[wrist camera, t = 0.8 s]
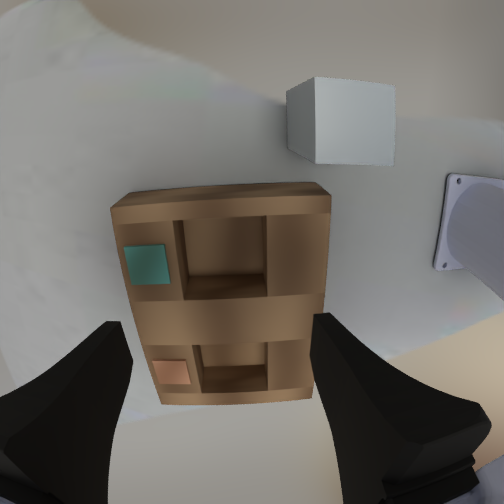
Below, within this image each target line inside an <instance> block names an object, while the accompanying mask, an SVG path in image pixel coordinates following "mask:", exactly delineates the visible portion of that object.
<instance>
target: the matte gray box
mask: <svg viewBox="0 0 504 504" xmlns="http://www.w3.org/2000/svg"><path fill="white" fill-rule="evenodd" d="M286 99H287V148H288V149H290V150H292V151H294V152H295V153H297V154H299V155H301V156H303V157H304V158H306V159H308V160H310V161H311V162H313V163H315V164H354V165H380V166H394V153H395V86H394V85H388V84H381V83H374V82H366V81H358V80H348V79H338V78H326V77H313V78H311V79H309V80H307V81H305V82H303V83H302V84H300V85H298V86H296V87H294V88H292V89H290V90H288V91H287V92H286Z"/></svg>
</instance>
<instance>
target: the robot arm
mask: <svg viewBox="0 0 504 504" xmlns="http://www.w3.org/2000/svg"><path fill="white" fill-rule="evenodd" d="M457 179H458V183H457ZM444 263H445V264H444ZM443 264H444V265H443ZM442 265H443V266H442ZM433 267H434V269H436V270H437V271H444V270H454V269H463V268H466V269H468V270H469V271H470V272H471V273H473V274H474V275H475V276H476V277H477V278H478V279H480V280H481V281H482V282H483V283H484V284H486V285H487V286H488V287H489V288H490V289H491V290H492V291H494V292H495V293H496V294H497V295H498V296H499V297H500V298H501V299H503V300H504V180H503V179H496V178H488V177H480V176H471V175H462V174H450V175H449V176H448V178H447V186H446V194H445V202H444V209H443V216H442V223H441V229H440V234H439V240H438V245H437V250H436V255H435V260H434V266H433ZM309 356H310V361H311V366H312V371H313V376H314V380H315V383H316V386H317V389H318V392H319V394H320V398H321V401H322V404H323V407H324V409H325V412H326V416H327V418H328V421H329V424H330V428H331V431H332V436H333V441H334V446H335V451H336V456H337V462H338V468H339V473H340V480H341V488H342V495H343V504H504V455H502V456H500V457H499V458H497V459H495V460H494V461H492V462H490V463H488V464H486V465H485V466H483V467H481V468H480V469H479V470H477V471H476V472H474V469H473V467H472V466H473V465H474V464H475V459H474V457H473V455H472V453H473V452H474V451H475V450H476V449H477V448H478V446H479V445H480V444H481V443H482V442H483V441H484V439H485V438H486V437H487V435H488V434H489V432H490V429H491V426H492V425H491V421H490V420H489V418H488V416H487V415H486V414H485V412H484V410H483V409H482V407H481V406H480V404H479V403H477V402H473V401H469V400H465V399H462V398H459V397H455V396H452V395H449V394H447V393H444V392H442V391H439V390H437V389H434V388H432V387H430V386H428V385H425V384H423V383H421V382H419V381H417V380H416V379H414V378H412V377H410V376H408V375H406V374H405V373H403V372H401V371H400V370H398V369H396V368H395V367H393V366H392V365H390V364H389V363H387V362H386V361H385V360H383V359H382V358H380V357H379V356H378V355H377V354H375V353H374V352H373V351H371V350H370V349H369V348H368V347H366V346H365V345H364V344H363V343H362V342H361V341H359V340H358V339H357V338H356V337H355V336H354V335H353V334H352V333H351V332H350V331H348V330H347V329H346V328H345V327H344V326H343V325H342V324H341V323H340V322H339V321H338V320H337V319H336V318H335V317H334V316H333V315H332V314H331V313H319V314H313V325H312V335H311V345H310V355H309ZM132 366H133V359H132V356H131V353H130V350H129V347H128V344H127V341H126V338H125V335H124V332H123V328H122V325H121V322H120V321H106V322H105V323H103V324H102V325H101V326H100V327H98V328H97V329H96V330H95V331H94V332H93V333H91V334H90V335H89V336H88V337H87V338H86V339H85V340H84V341H82V342H81V343H80V344H79V345H78V346H77V347H76V348H74V349H73V350H72V351H71V352H70V353H68V354H67V355H66V356H65V357H64V358H62V359H61V360H60V361H59V362H57V363H56V364H55V365H54V366H52V367H51V368H50V369H48V370H47V371H46V372H44V373H43V374H41V375H40V376H38V377H37V378H35V379H34V380H32V381H30V382H28V383H27V384H25V385H23V386H21V387H20V388H18V389H16V390H14V391H12V392H10V393H8V394H6V395H4V396H2V397H0V504H108V476H109V465H110V456H111V448H112V443H113V437H114V432H115V428H116V425H117V422H118V418H119V415H120V412H121V409H122V405H123V402H124V399H125V396H126V393H127V389H128V386H129V383H130V377H131V372H132Z"/></svg>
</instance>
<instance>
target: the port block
mask: <svg viewBox="0 0 504 504" xmlns="http://www.w3.org/2000/svg"><path fill="white" fill-rule="evenodd" d="M110 211H111V217H112V223H113V229H114V234H115V239H116V244H117V249H118V254H119V259H120V264H121V268H122V273H123V277H124V281H125V286H126V290H127V294H128V298H129V302H130V306H131V309H132V313H133V317H134V320H135V324H136V328H137V331H138V335H139V338H140V341H141V345H142V348H143V351H144V354H145V358H146V361H147V364H148V367H149V370H150V373H151V376H152V379H153V382H154V385H155V388H156V390H157V393H158V396H159V399H160V401H161V404H166V405H233V404H254V403H268V402H281V401H291V400H301V399H310V398H312V393H313V386H314V376H313V371H312V366H311V361H310V356H309V355H310V345H311V335H312V325H313V314H319V313H323V307H324V297H325V286H326V275H327V263H328V249H329V234H330V216H331V195H330V194H329V193H328V192H327V191H326V190H324V189H323V188H322V187H321V186H319V185H318V184H317V183H316V182H303V183H264V184H239V185H220V186H204V187H189V188H176V189H164V190H153V191H143V192H133V193H128V194H127V195H126V196H124V197H123V198H122V199H121V200H119V201H118V202H117V203H115V204H114V205H113V206H112V207H110Z"/></svg>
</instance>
